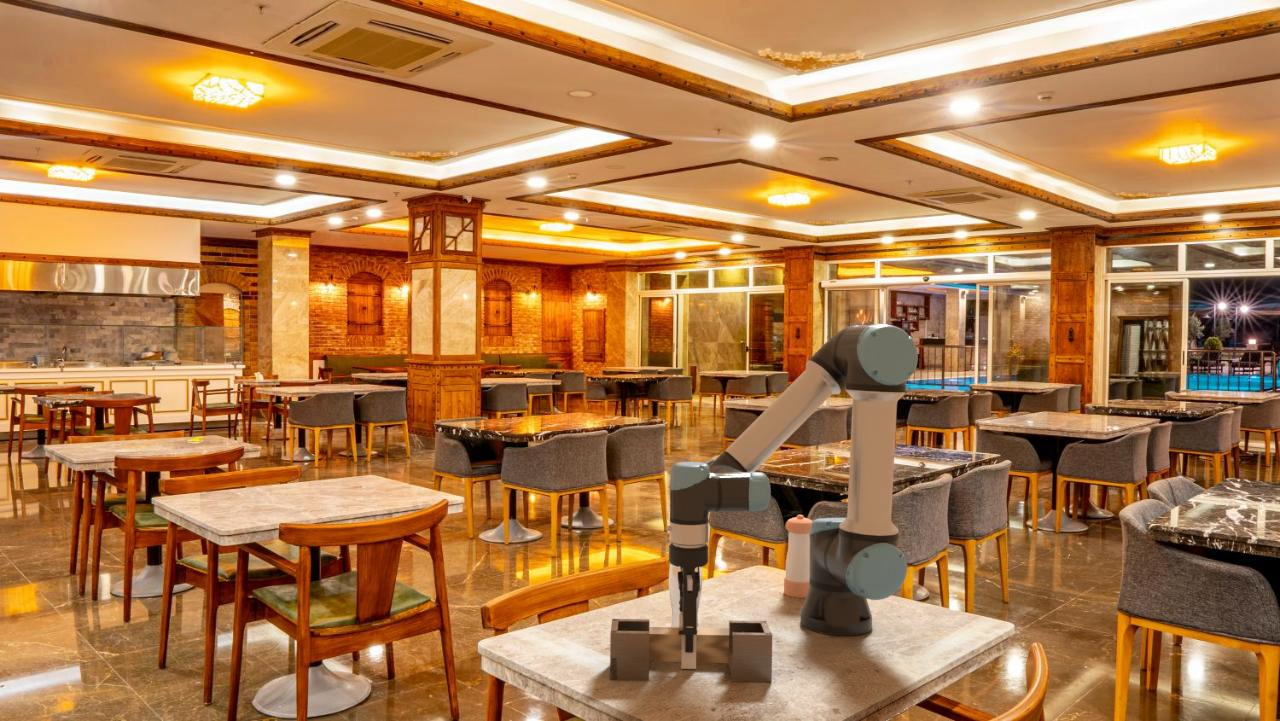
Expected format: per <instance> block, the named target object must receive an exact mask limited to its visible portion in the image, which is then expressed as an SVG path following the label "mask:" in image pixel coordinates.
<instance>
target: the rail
mask: <svg viewBox="0 0 1280 721" xmlns="http://www.w3.org/2000/svg"><path fill="white" fill-rule="evenodd" d="M682 629H683V628H679V627H671V626H670V627H668V626H667V627H666V626H665V627H664V626H649V631H650V635H649V662H664V663H665V662H669V663H670V662H676V663H681V649H682V635H679V630H682ZM696 663H723V664H724V663H729V627H728V628H726V627H699V628H697V635H696Z"/></svg>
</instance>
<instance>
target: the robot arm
mask: <svg viewBox="0 0 1280 721" xmlns="http://www.w3.org/2000/svg"><path fill="white" fill-rule="evenodd" d="M918 353H919V352H918V350H917V346H916V344H915V341H914V340H913V338H912V337H911V336H910V335H909V334H908V333H907V332H906V331H905V330H904V329H902V328H900V327H898V326H895V325H891V324H890V325H889V324H884V323H877V324H876V323H875V324H854V325H849V326H847V327H844V328H843V329H841V330H839V331H838V332H836V334H833V336H831V338H829V339H828V340H827V341H826V342H825V343H824V344H823V345H822V346H821V347H820V348H819V349H818V350H817V351H816V352H814V354H813V355H812V356H811V357H810V358H809V359H807V361H806V363H805V369H804V371H803V372H802V373H801V374H800V375H799V376H798V377H797V378H795V379H794V381H793V382H792V383H791V384H790V385H789V386H788V387H787V388H786V389H785V390H784V391H782V393H780V395H779V396H778V397H777V398H776V399H775V400H774V401H773V402H772V403H771V404H770V405H768V407H767V408H766V409H765V410H764V411H763V412H762V413H761V414H760V415H759V416H757V418H756V419H755V420H754V421H753V422H751V424H750V425H749V426H748V427H747V428H746V429H745V430H744V431H743V432H742V433H741V434H740V435H739V436H738V437H737V438H736V439H735V440H734V441H733V442H732V443H731V444H730V445H729V446H728V447H727V448H726V449H725V450H724V451H723V452H722V453H720V454H719V455H718V456H717V458H716V459H712V460H708V461H706V462H701V461H679V462H676V463H674V464H673V465H671V468H670V473H669V474H670V476H669V484H668V489H669V525H667V526H665V530H666V531H667V532H669V542H670V544H669V546H668V562H669V565H670V564H672V565H674V566H677V567H681V572H678V584H679V590H680V601H679V604H680V607H679V610H680V612H682V613H679V628H683V629H682V630H679V635H682V649H681V662H680V663H681V665H680V668H681V670H683V669H685V670H686V669H687V670H696V669H697V662H696V635H697V597H698V584H699V575H698V572H695V568H697V567H701V568H702V567H705V566H706V565H707V564H709V545H708V542H709V541H710V539H709V536H710V533H709V532H710V529H709V527H710V521H709V514H710V513H719V512H720V513H721V512H722V513H724V512H725V513H728V512H729V513H730V512H733V513H735V512H736V513H737V512H749V513H752V512H757V511H764V510H766V509H767V508H768V507H769V505H770V503H771V502H770V501H771V495H772V494H771V493H772V492H771V483H770V480H769V478H768V476H767V474H765V473H764V472H761V471H760V472H759V471H758V472H757V470H758V469H759V468H760V467H761V466H762V465H763V464H764V463H765V462H766V461H767V460H768V459H769V458H770V457H771V456H772V455H773V454H774V453H775V452H776V451H777V449H779V448H780V447H781V446H782V445H783V444H784V443H785V442H786V441H787V440H788V439H789V438H790V437H791V436H792V435H793V434H794V433H795V432H796V431H797V429H799V428H800V427H801V426H802V425H803V424H804V423H805V422H806V421H807V420H808V419H809V418H810V417H811V416H812V415H813V414H814V413H815V412H816V410H818V409H819V408H820V407H821V406H822V405H823V404H824V403H825V402H826V401H827V400H828V399H829V398H830V397H831V395H840V393H842V391H844V389H845V392H846V393H847V394H848V395H849V396H850V398H851V399H852V408H851V409H852V410H851V426H850V427H851V429H850V430H851V432H850V447H849V448H850V453H849V470H848V471H849V472H848V473H849V474H848V492H847V514H846V515H847V516H846V517H823V518H816V519H814V520H812V521H813V522H812V523H811V528H810V534H809V537H810V573H809V577H810V579H809V589H808V592H807V595H806V598H804V601H803V603H802V604H803V605H802V607H801V610H800V624H801V625H802V626H803V627H804V628H806V629H808V630H810V631H813V632H817V633H820V634H823V635H832V636H858V635H863V634H866V633H869V632H870V631H871V630H873V616H872V611H871V609H870V606H869V602H868V600H871V601H880V600H885V599H887V598H890V597H892V596H893V595H894V594H895V593H896V592H897V591H899V589H900V590H901V588H902V586H903V584H904V582H905V580H906V578H907V573H908V562H907V560H906V557H905V555H904V554H903V552H902V551H901V549H900V548H899V532H900V531H899V529H898V527H896V525H895V524H894V523H893V522H892V511H893V510H892V509H893V508H892V507H893V488H894V471H895V469H894V468H895V449H896V429H897V428H896V427H897V412H898V411H897V408H898V401H899V400H900V399H901V398H903V396H905V395H906V389H907V388H906V387H907V381H908V380H909V379H910V377H911V376H912V375H913V374H914V373H915V371H916V369H917V365H918V362H919V361H918V359H919V358H918V356H919V354H918Z"/></svg>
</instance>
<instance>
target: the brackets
mask: <svg viewBox="0 0 1280 721" xmlns="http://www.w3.org/2000/svg"><path fill="white" fill-rule="evenodd" d="M649 627H650V619H647V618H645V619H643V618H641V619H639V618H638V619H637V618H611V627H610V635H609V637H610V644H609V645H610V649H609V650H610V652H609V654H610V655H609V660H610V661H609V680H610V681H650V661H649V635H650V631H649ZM728 628H729V663H728V668H729V674H730V677H731V681H732V682H733V683H739V682H740V683H772V682H773V681H772V680H773V679H772V677H773V676H772V674H773V670H772V669H773V634H772V631H771V629H770V626H769V624H768V621H767V620H728Z"/></svg>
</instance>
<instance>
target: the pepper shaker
mask: <svg viewBox="0 0 1280 721" xmlns="http://www.w3.org/2000/svg"><path fill="white" fill-rule="evenodd" d="M813 521H814V520H812V519H810V518H808V517H807V518H806V517H805V516H804V515H803V514H797V515H796V517H792V518H789V519H788V520H787V521H786V522H785V525H784V526H785V529H786V531H787V532H788V544H787V546H788V548H787V556H786V561H785V576H784V579H783V594H784V595H786V596H788V597H792V598H798V599H799V598H801V599H805V598H806V595H807V592H808V589H809V579H810V577H809V573H810V537H809V534H810V528H811V523H812V522H813Z"/></svg>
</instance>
